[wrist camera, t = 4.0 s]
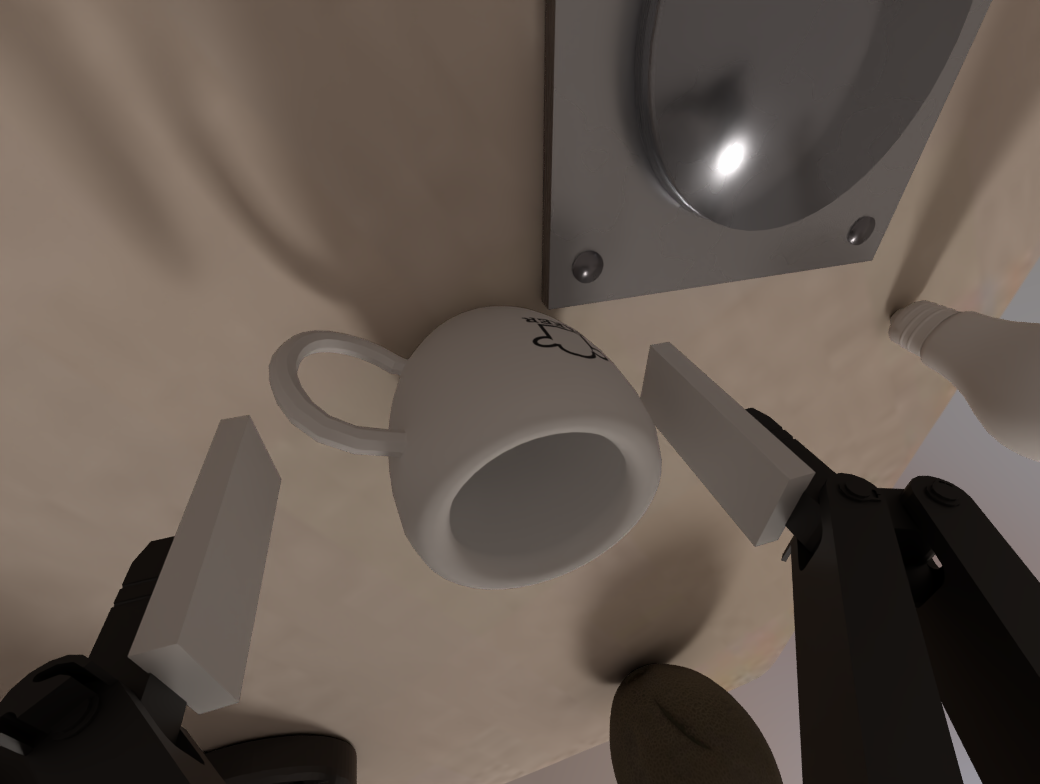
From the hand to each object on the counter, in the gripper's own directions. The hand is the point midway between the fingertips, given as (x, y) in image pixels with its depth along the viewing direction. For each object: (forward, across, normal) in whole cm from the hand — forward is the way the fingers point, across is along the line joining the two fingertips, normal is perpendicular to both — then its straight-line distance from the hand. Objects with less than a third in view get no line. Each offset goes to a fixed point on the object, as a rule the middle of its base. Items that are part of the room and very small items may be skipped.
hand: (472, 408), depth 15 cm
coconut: (+4, +16, -41) cm, 44 cm away
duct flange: (+4, +12, +10) cm, 16 cm away
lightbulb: (+4, +25, -2) cm, 25 cm away
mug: (+4, 0, 0) cm, 4 cm away
